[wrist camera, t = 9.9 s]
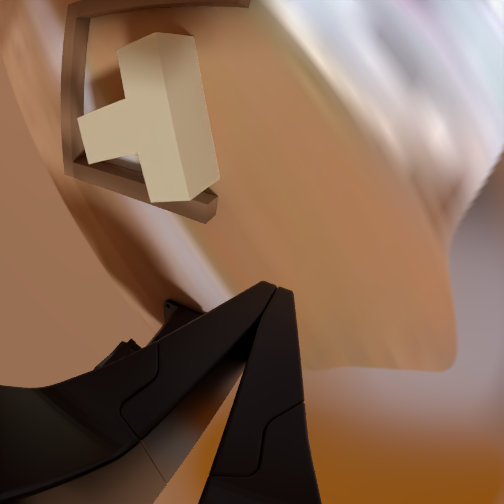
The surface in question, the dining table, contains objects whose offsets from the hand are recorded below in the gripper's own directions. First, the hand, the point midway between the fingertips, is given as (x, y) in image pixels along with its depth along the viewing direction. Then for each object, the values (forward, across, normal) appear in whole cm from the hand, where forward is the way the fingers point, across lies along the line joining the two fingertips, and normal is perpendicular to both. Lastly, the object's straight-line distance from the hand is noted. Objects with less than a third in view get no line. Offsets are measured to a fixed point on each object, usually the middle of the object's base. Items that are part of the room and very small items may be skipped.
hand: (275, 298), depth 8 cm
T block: (+12, +12, -1) cm, 17 cm away
